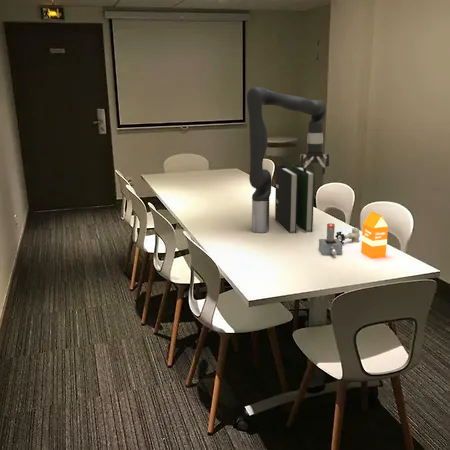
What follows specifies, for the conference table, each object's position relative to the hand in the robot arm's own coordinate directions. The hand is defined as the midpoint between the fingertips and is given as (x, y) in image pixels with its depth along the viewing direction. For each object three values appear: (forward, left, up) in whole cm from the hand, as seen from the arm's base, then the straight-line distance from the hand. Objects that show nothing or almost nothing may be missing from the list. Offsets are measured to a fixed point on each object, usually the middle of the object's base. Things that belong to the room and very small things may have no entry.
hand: (313, 174), depth 242 cm
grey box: (+5, -23, -33) cm, 41 cm away
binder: (-6, +23, -33) cm, 41 cm away
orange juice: (+24, -26, -33) cm, 49 cm away
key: (+5, -21, -32) cm, 39 cm away
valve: (+17, -8, -33) cm, 38 cm away
